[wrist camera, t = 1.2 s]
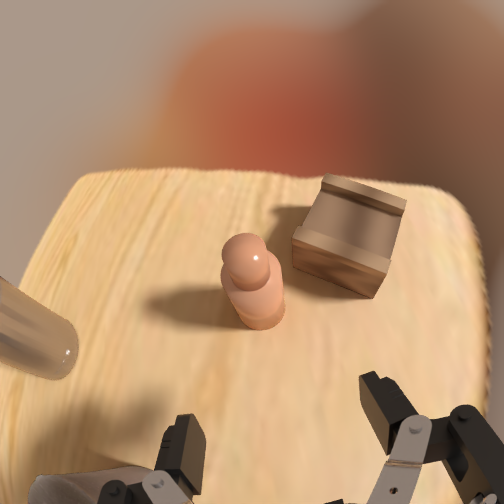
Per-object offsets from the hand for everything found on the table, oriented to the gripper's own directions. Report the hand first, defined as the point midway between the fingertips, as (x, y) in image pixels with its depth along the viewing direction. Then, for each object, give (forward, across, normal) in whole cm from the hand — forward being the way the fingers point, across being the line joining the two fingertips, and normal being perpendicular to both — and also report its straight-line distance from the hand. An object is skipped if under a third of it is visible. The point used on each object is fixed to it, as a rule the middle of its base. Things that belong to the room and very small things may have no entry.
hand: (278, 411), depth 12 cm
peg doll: (+20, 0, +3) cm, 20 cm away
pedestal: (+23, -11, 0) cm, 26 cm away
